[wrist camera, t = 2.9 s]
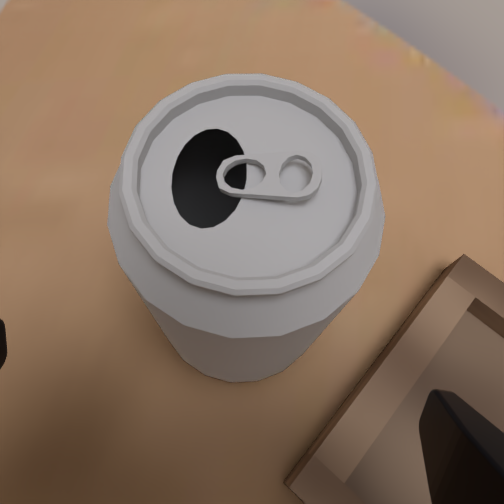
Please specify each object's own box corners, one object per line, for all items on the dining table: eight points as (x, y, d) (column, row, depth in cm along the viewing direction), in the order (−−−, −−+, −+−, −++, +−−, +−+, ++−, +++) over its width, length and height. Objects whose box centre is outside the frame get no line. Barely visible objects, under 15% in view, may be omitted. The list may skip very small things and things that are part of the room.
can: (176, 227, 23) (126, 32, 12) (320, 243, 23) (403, 63, 12) (149, 375, 20) (47, 300, 9) (313, 393, 20) (415, 341, 9)
